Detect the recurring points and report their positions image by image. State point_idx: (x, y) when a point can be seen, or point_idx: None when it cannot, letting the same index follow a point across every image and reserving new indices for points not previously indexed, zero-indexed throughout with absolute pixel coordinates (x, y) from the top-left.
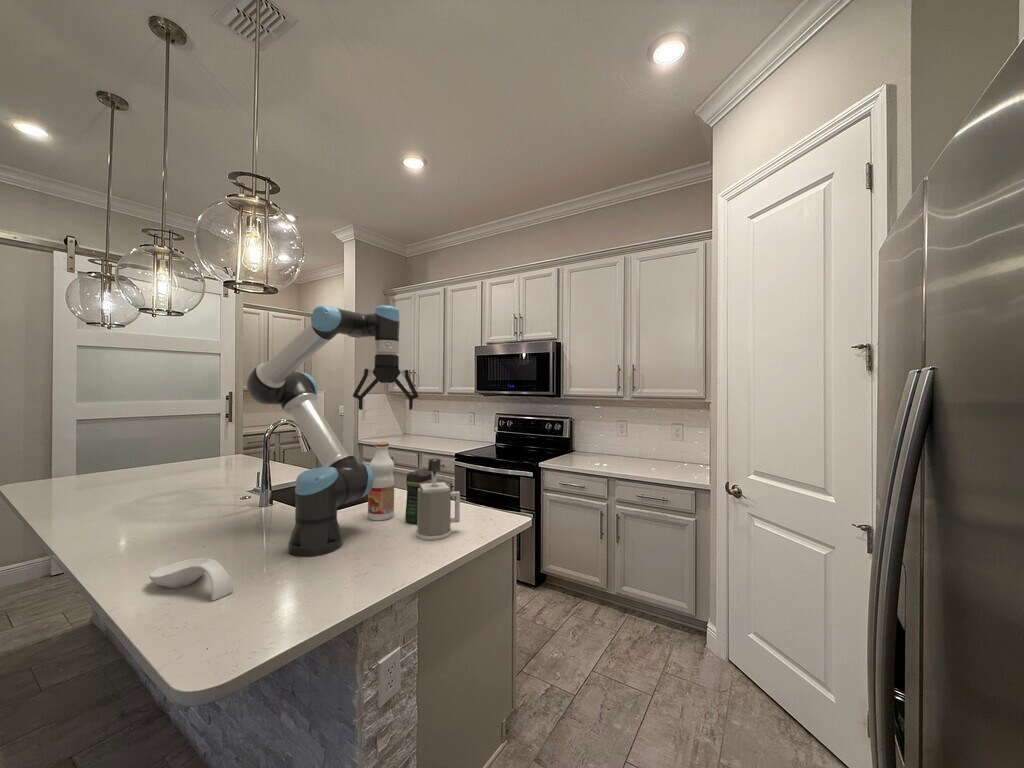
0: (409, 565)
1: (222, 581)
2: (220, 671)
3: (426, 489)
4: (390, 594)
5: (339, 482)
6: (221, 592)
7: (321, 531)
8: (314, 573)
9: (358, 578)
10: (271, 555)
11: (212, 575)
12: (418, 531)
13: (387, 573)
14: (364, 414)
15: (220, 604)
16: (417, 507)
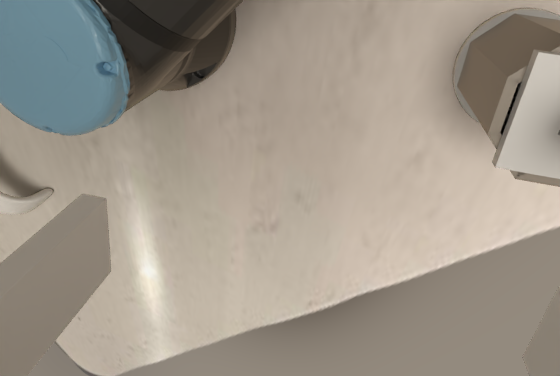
0: (365, 235)
1: (25, 207)
2: (107, 360)
3: (510, 167)
4: (300, 315)
5: (148, 67)
6: (37, 205)
7: (160, 88)
8: (177, 180)
9: (257, 240)
10: None
11: (2, 213)
12: (460, 79)
13: (313, 247)
14: (74, 309)
15: None
16: (487, 58)
